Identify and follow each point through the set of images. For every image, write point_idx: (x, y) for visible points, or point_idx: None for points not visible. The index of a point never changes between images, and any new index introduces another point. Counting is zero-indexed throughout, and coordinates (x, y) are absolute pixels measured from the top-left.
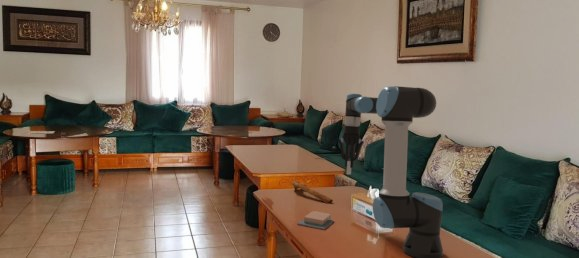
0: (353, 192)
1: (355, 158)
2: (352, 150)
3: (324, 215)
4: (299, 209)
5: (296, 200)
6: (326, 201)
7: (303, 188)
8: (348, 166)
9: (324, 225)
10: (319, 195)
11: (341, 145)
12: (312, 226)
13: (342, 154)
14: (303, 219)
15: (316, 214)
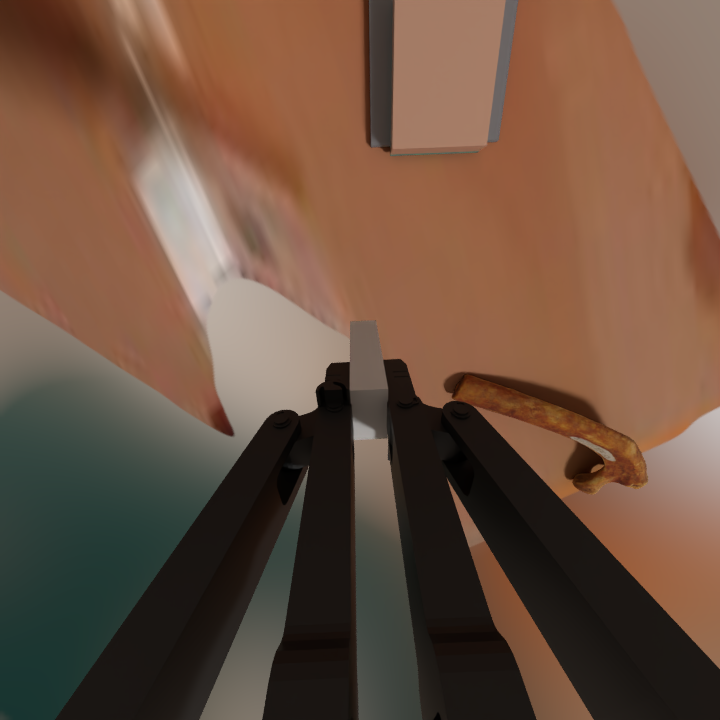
0: None
1: (277, 423)
2: (320, 541)
3: (414, 98)
4: (555, 232)
5: (587, 344)
6: (472, 378)
7: (591, 423)
8: (365, 355)
9: (385, 21)
10: (511, 398)
11: (651, 651)
12: None
13: (490, 448)
14: (507, 53)
15: (456, 85)
